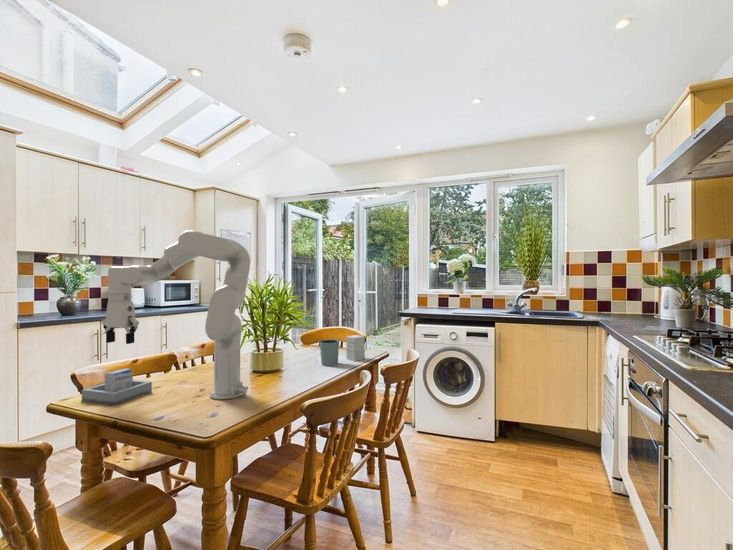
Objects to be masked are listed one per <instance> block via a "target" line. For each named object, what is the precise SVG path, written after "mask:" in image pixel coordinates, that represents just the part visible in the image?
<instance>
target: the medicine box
mask: <svg viewBox="0 0 733 550" xmlns="http://www.w3.org/2000/svg"><path fill="white" fill-rule="evenodd" d="M131 380H132V369H130V368H121V369H117V370H114V371H109V372H107V373H104V383H105V391H109V392H117V391H120V390H124V389H127V388H130V387H132V382H131Z"/></svg>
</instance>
